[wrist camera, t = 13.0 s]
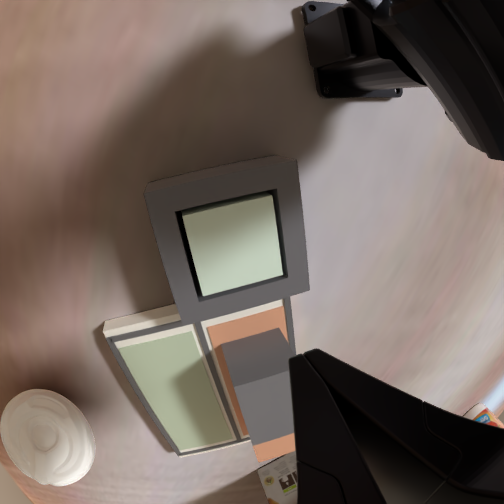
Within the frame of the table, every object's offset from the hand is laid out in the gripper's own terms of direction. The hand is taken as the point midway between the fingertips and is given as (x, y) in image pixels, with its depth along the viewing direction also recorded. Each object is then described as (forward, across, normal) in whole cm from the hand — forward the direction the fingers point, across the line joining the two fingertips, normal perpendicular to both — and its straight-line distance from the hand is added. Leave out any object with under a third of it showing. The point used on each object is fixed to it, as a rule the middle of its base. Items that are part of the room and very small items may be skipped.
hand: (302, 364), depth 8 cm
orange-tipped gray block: (+10, 0, +12) cm, 16 cm away
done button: (+11, 0, 0) cm, 11 cm away
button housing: (+12, 0, 0) cm, 12 cm away
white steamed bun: (+12, +17, +11) cm, 24 cm away
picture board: (+12, +3, +12) cm, 17 cm away
